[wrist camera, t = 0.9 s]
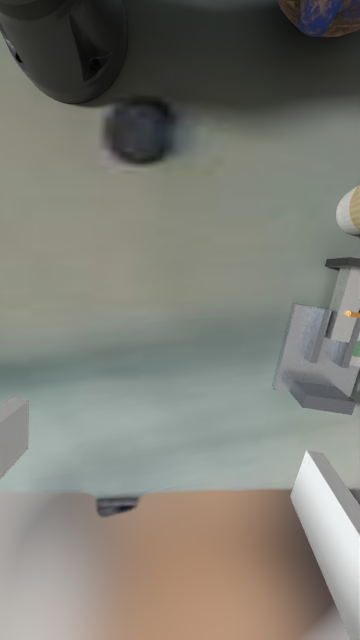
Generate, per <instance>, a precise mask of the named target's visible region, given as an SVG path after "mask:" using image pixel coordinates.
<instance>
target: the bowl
mask: <svg viewBox="0 0 360 640" xmlns="http://www.w3.org/2000/svg"><path fill="white" fill-rule="evenodd" d="M278 2H279V5H280V8H281V9H282V11H283V12H284V13H285V15H286V16H287V17H288V19H289V20H290V21H291V22H292V23H293V24H294V25H295V26H296V27H297V28H298V29H299V30H300V31H301V32H302V33H304V34H306V35H308V36H312V37H328V38H329V37H333V36H341V35H345V34H348V33H351V32H355V31H358V30H360V0H278Z"/></svg>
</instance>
